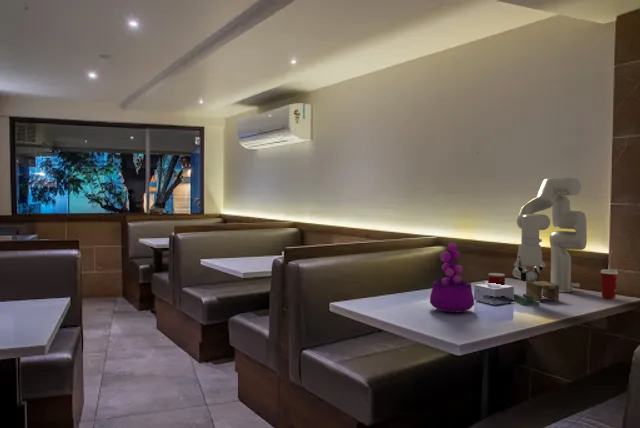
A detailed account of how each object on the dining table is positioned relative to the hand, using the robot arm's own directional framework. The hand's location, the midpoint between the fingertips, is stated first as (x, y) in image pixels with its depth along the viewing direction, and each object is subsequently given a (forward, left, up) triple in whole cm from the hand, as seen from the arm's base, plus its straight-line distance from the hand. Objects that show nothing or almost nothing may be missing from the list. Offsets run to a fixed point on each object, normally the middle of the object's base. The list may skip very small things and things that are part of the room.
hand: (529, 280), depth 230 cm
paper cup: (-45, -11, -11) cm, 48 cm away
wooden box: (-12, -12, -11) cm, 20 cm away
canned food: (+7, -21, -11) cm, 25 cm away
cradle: (0, -5, -11) cm, 12 cm away
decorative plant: (+40, +10, -11) cm, 43 cm away
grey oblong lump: (0, -5, 0) cm, 5 cm away
